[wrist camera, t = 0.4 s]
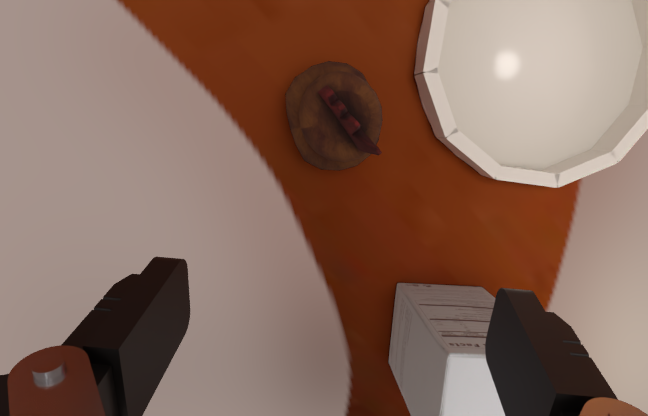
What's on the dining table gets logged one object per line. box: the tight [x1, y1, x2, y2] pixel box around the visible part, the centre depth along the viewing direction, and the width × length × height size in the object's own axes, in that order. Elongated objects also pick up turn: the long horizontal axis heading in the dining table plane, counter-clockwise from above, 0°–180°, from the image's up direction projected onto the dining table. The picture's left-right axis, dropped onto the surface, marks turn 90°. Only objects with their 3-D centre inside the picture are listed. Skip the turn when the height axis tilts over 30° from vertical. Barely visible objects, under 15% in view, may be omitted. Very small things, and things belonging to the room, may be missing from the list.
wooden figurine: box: [285, 61, 382, 170], centre depth 28 cm, size 7×6×15 cm
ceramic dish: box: [414, 0, 648, 188], centre depth 35 cm, size 18×18×3 cm
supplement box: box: [388, 283, 505, 416], centre depth 33 cm, size 7×7×13 cm
